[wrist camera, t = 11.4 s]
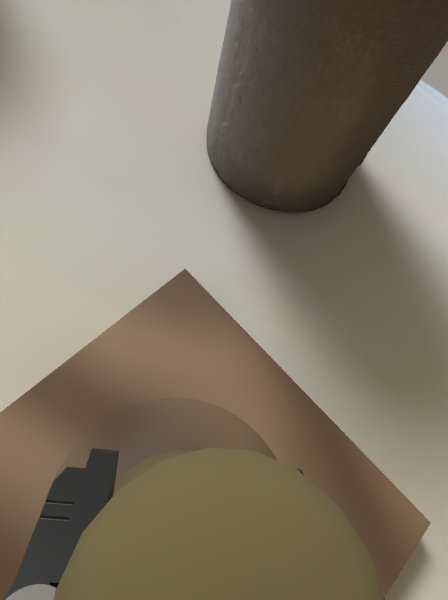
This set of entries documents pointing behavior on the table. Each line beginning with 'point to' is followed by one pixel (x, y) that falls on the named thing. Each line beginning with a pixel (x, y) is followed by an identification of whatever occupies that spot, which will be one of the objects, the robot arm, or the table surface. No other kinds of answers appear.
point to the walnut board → (186, 422)
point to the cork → (218, 535)
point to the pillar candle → (313, 91)
